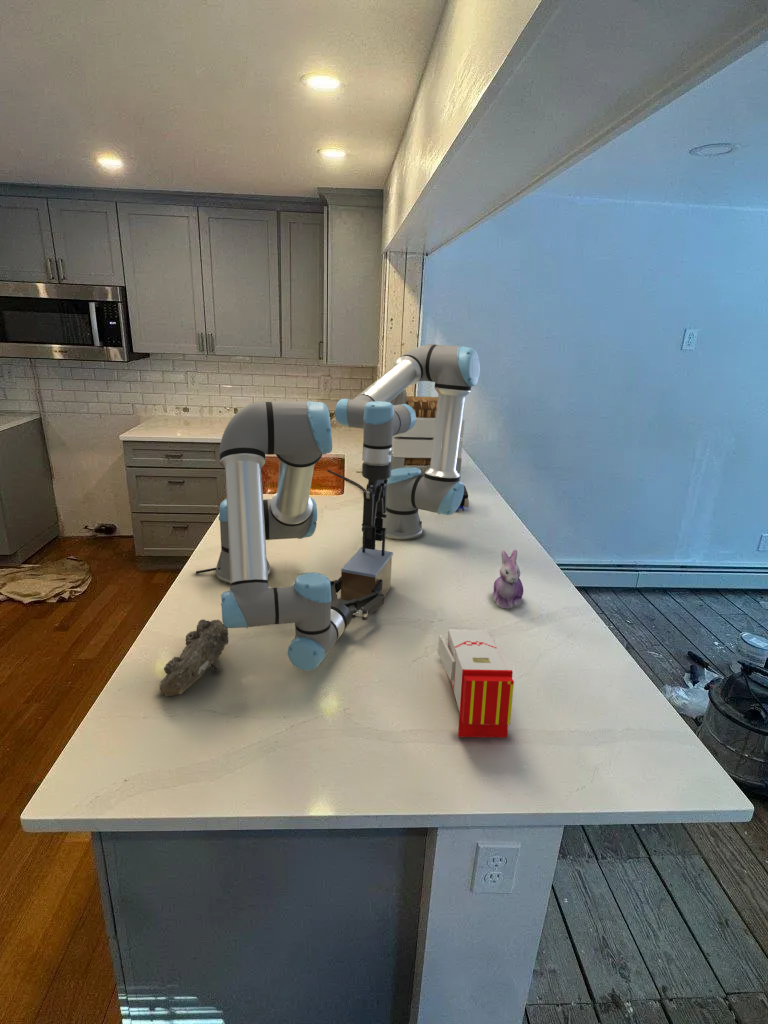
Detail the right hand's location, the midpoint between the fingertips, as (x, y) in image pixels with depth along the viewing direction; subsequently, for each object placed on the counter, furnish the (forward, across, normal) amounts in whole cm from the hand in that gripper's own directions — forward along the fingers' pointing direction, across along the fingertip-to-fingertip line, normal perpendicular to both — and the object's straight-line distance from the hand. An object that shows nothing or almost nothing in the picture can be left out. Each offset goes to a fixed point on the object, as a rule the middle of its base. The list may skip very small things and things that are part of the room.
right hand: (373, 544), depth 155 cm
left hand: (+7, -8, 0) cm, 11 cm away
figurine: (+14, +7, -37) cm, 40 cm away
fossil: (+14, -49, +22) cm, 56 cm away
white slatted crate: (+14, +122, +17) cm, 124 cm away
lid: (+4, -4, 0) cm, 6 cm away
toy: (+14, -36, -34) cm, 51 cm away
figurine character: (+14, +80, -10) cm, 82 cm away
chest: (+14, -5, 0) cm, 15 cm away
